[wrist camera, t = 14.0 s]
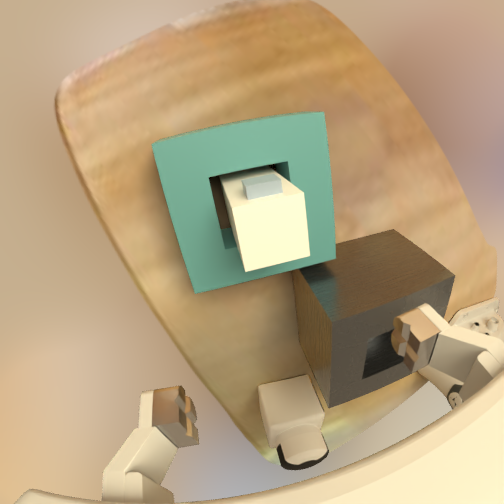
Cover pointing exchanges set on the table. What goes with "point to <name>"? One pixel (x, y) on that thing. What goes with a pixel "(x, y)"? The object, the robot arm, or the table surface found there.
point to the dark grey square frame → (363, 311)
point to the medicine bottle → (293, 421)
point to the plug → (265, 217)
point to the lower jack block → (234, 159)
